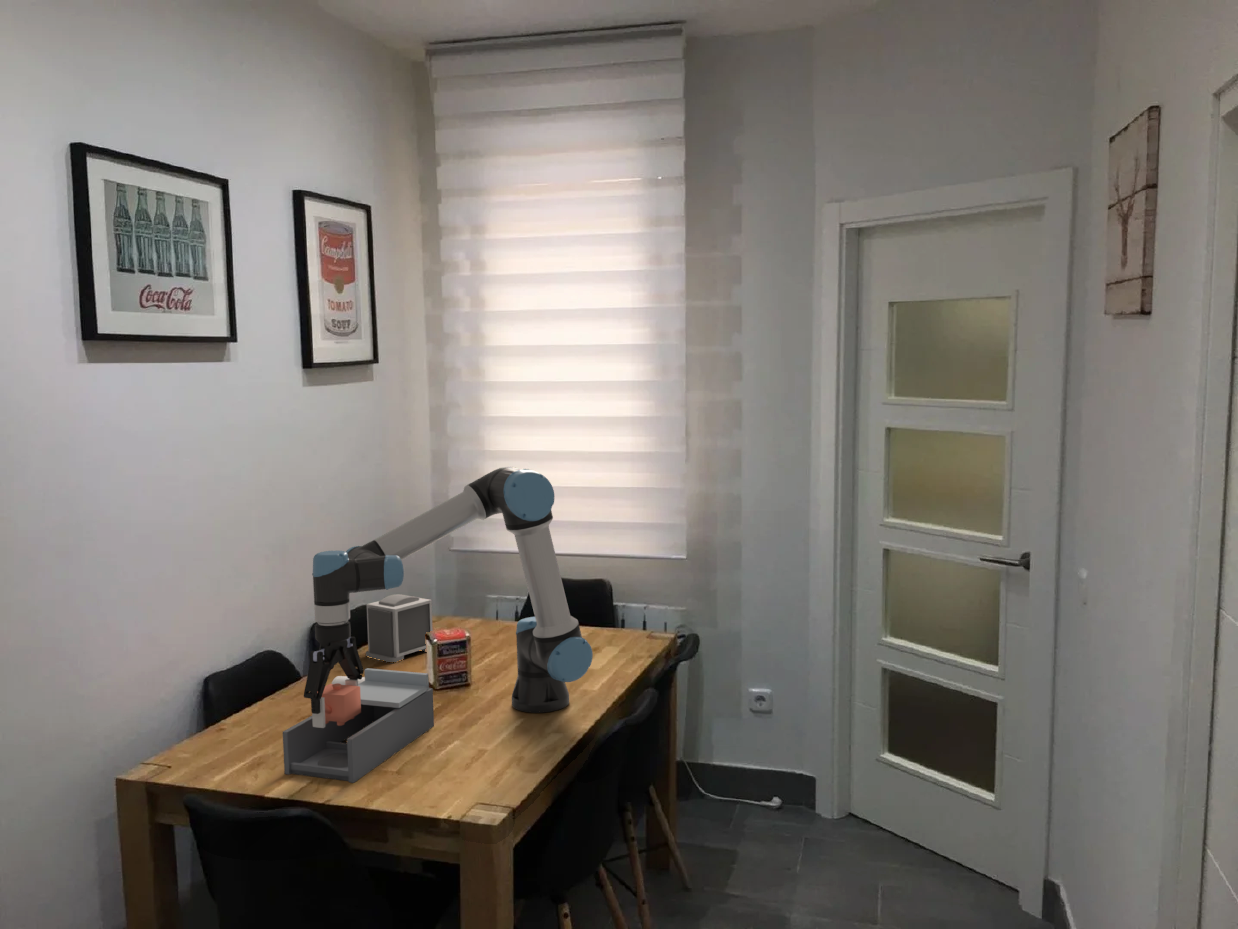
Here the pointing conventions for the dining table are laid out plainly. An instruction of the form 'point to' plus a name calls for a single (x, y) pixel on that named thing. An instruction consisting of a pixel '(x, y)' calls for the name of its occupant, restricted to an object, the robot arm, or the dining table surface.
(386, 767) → the dining table surface
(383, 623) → the grey panelled box
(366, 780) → the dining table surface
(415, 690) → the lid
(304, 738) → the housing
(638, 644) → the dining table surface
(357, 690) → the pink cube teapot
